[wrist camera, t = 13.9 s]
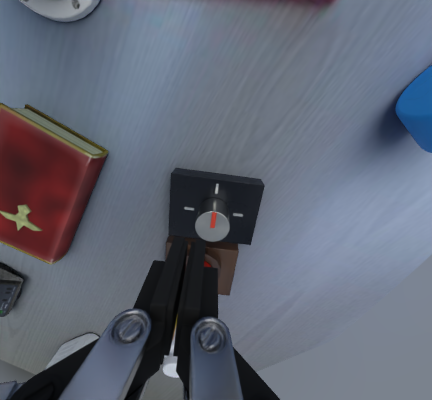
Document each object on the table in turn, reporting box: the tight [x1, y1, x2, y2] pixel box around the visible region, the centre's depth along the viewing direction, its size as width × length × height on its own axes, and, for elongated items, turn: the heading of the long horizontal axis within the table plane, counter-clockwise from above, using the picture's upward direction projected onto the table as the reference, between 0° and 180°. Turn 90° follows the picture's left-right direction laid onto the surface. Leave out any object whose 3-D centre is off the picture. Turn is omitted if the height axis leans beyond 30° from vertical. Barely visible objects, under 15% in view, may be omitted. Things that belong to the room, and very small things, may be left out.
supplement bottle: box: [163, 314, 179, 378], centre depth 38 cm, size 5×5×10 cm
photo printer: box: [45, 333, 99, 369], centre depth 41 cm, size 10×4×12 cm, turn 120°
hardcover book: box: [0, 103, 108, 264], centre depth 30 cm, size 12×21×4 cm, turn 148°
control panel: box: [169, 168, 264, 245], centre depth 31 cm, size 13×10×3 cm
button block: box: [165, 235, 239, 295], centre depth 35 cm, size 12×10×4 cm
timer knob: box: [195, 198, 230, 242], centre depth 27 cm, size 4×4×5 cm
